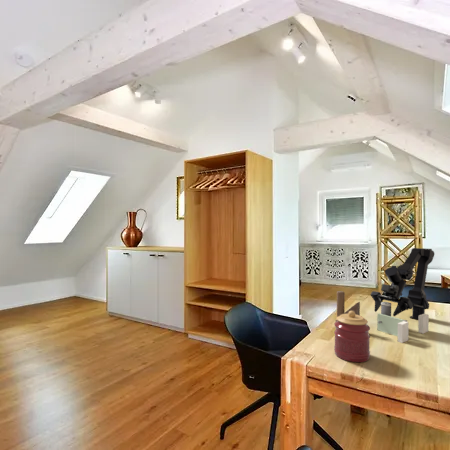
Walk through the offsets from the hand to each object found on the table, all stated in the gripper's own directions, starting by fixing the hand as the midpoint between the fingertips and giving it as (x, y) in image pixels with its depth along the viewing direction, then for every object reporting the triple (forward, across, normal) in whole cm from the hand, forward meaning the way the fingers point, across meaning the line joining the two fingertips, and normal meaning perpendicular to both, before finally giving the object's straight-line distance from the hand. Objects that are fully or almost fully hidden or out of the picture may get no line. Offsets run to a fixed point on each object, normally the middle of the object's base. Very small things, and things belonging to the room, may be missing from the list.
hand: (384, 313), depth 149 cm
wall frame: (+3, +12, +8) cm, 15 cm away
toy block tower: (+16, -10, -4) cm, 20 cm away
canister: (+34, +9, -22) cm, 41 cm away
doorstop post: (+5, 0, +7) cm, 8 cm away
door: (+8, +5, +3) cm, 10 cm away
